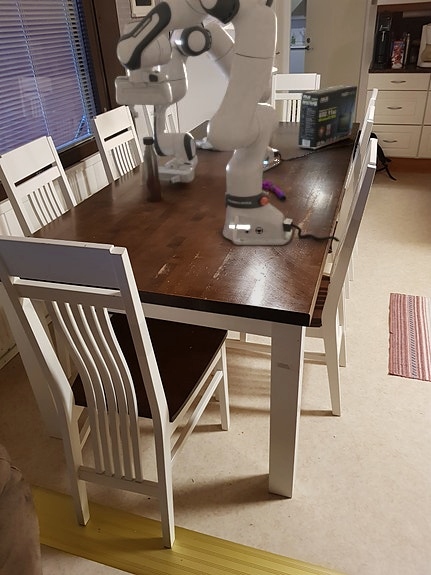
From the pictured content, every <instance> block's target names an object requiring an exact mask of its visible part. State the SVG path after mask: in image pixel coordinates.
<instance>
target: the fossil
mask: <svg viewBox="0 0 431 575" xmlns="http://www.w3.org/2000/svg"><path fill="white" fill-rule="evenodd" d="M195 142H196V149H204V150H212V151H214V152H215V151H218V150H217V149H215V148H214V147H213V146H212V145H211V143H210V142H209V139H208V136H207V135H206V136H204V137H203V138H202V139H196V140H195Z"/></svg>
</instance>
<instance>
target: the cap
mask: <svg viewBox="0 0 431 575" xmlns="http://www.w3.org/2000/svg"><path fill="white" fill-rule="evenodd" d="M142 144H143V146H145V145H153V144H154V139H153V136H144V137H142Z"/></svg>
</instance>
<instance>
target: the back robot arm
mask: <svg viewBox="0 0 431 575" xmlns="http://www.w3.org/2000/svg"><path fill="white" fill-rule="evenodd" d="M170 32H171V33H170V36H169V40H170V42H171V45H172V56H171V59H170V61H169V62H168V63H167V64H165V65H162V66H157V70H158V71H160V72H163V73H166V74H167V75H168V79H167V80H166V81H167V82H168V83H169V85H170V88H171V93H172V102H171V104H169V105H161V109H160V111H159V118H153V134H152V137H153V139H154V144H153V147H154V148H155V150H156V152H157V156H158V157H161V158H162V157H163V158H164V157H174V158H172V159H171V160H169V161H168V162H166V163H165V165H164V166H159V165H158V168H159V178H160V181H167V182H169V183H170V184H175V183H191V182H192V181H193V180H195V169H196V168H197V165H198V162H199V161H198V156H197V148H196V142H195V141H196V140H195V137H193V136H192V134H191V133H190V132H168V131H167V130H166V118H167V117H166V114H167V110H168V108H169V107H171V106H173V105H174V104H176V103H179V102H180V101H181V100H183V99H184V98H185V97H186V95H187V92H188V77H187V71H186V64H187V60H188V58H189V57H193V58H194V57H199V56H201V55H202V54H205V53H206V55H207V56H208V57H209V59H210V61H212V63H213V64H214V66H215V67H216V68H217V70H218V71H219V72H220V74H221V75H222V77H223V78H225V80H227V81H228V82H229V79H230V73H231V65H232V57H233V48H234V40H233V38H232V37H231V36H230V35H229V32H227V31H226V29H224V27H222V25H221V24H219V23H217V22H210V23H207V24H206V25H205V26H201V25H199V24H198V25H196V26H194V27H189V28H184V29H178V30H173V31H170ZM271 95H272V87H271V85H270V86H269V88H268V90H267V92H266V93H265V94H264V95H263V96H262V98H261V100H260V102H259V103H263V104H267V102H268V101H269V99H270V98H271ZM156 110H157V108H155V105H153V113H155V112H156ZM153 113H152V114H153ZM355 142H356V141H355ZM351 145H353V144H351ZM351 145H350V146H351ZM354 145H356V146H359V145H360V144H359V143H358V142H356V143H355V144H354ZM314 151H315V152H313V151H311V152H312V153H310V152H308V153H309V154H308V153H306V154H307V155H305V154H303V155H304V156H302V155H300V156H301V157H299V156H295V157H296V158H294V157H292V158H288V159H284V158H282V153H280V152H279V150H277V149H274V148H271V147H270V146H268V149H267V152H266V156H265V160H264V165H263V167H264V168H263V172H267V171H268V170H270V169H272V168H273V167H276V166H277V165H280V161H281V162H288V161H290V162H291V161H295V160H298V159H302V158H305V157H308V156H311V155H313V154H315V153H318V152H317V151H316V150H314ZM278 157H279V160H280V161H279V162H278V163H276V164H274V165H272V166H270V167H269V166H268V167H266V165H267V164H269V163H271V162H273V161H277V160H278V159H276V160H274V159H275V158H278ZM280 158H282V159H280ZM265 167H266V168H265Z"/></svg>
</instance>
